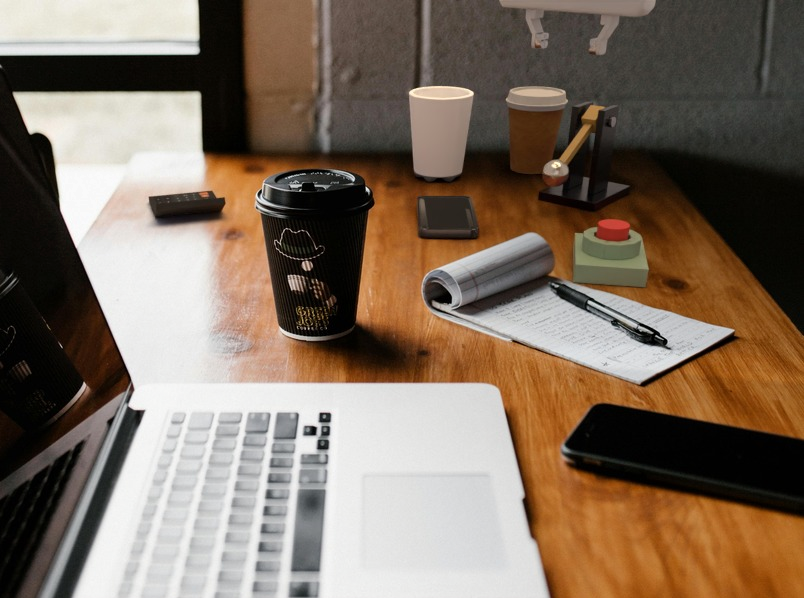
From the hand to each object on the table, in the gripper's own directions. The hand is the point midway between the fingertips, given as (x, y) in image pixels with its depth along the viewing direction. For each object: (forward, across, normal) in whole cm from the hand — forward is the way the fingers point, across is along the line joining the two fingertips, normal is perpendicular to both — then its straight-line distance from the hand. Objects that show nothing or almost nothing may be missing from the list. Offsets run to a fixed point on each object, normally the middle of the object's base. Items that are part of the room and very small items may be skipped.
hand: (567, 51), depth 110 cm
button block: (+21, -16, +14) cm, 30 cm away
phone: (+21, +9, +12) cm, 26 cm away
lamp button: (+17, -16, +14) cm, 28 cm away
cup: (+21, +23, -5) cm, 32 cm away
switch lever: (+14, 0, -6) cm, 16 cm away
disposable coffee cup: (+21, +14, -18) cm, 31 cm away
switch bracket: (+21, 0, -10) cm, 23 cm away
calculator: (+21, +40, +32) cm, 55 cm away
